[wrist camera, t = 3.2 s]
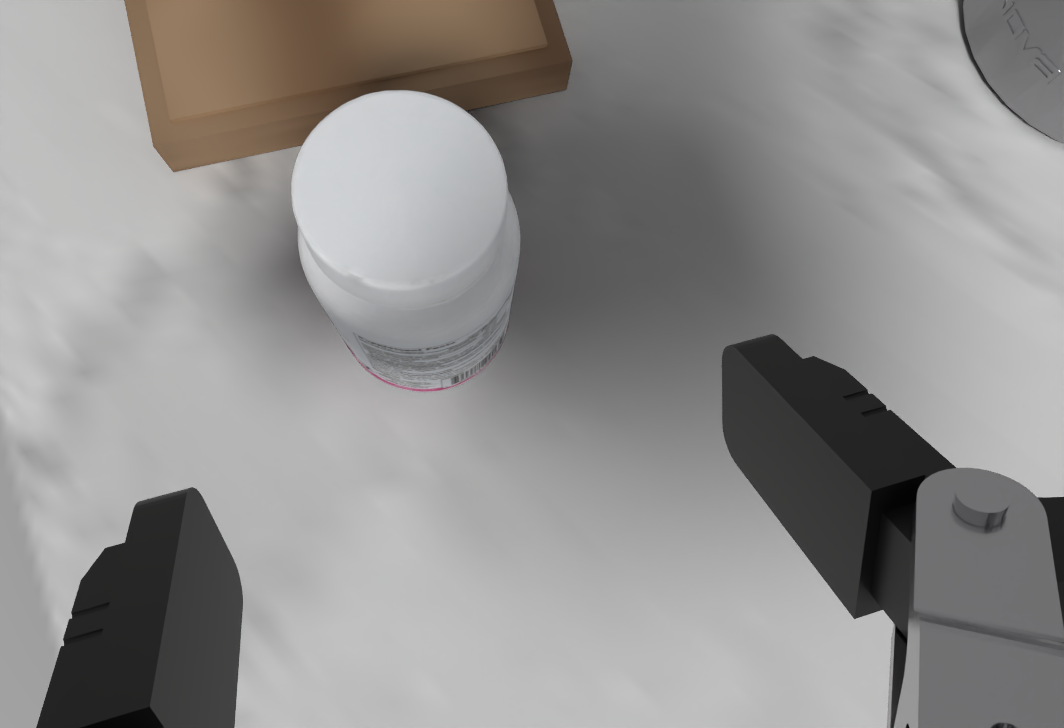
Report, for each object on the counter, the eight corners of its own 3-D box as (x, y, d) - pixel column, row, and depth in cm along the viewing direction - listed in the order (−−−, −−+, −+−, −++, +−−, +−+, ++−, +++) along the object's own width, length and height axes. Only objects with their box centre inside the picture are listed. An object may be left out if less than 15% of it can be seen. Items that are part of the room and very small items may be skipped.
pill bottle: (340, 238, 23) (270, 66, 15) (504, 235, 23) (524, 66, 15) (340, 399, 22) (265, 311, 14) (512, 392, 22) (538, 303, 14)
